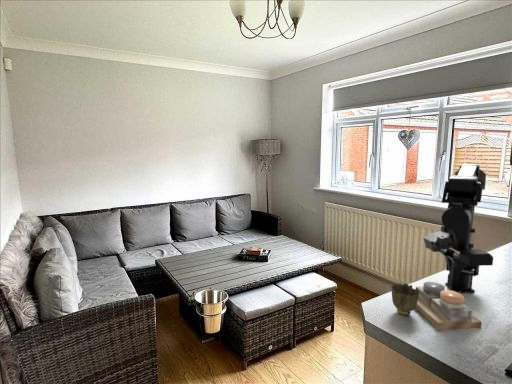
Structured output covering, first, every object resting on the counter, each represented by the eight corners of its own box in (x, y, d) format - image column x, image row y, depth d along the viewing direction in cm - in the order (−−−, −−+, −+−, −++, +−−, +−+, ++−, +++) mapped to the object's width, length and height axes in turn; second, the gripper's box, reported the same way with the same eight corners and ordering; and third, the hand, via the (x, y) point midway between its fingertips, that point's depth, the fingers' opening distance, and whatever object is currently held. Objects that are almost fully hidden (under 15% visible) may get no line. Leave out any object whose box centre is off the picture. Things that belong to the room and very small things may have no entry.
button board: (442, 299, 99) (444, 285, 98) (480, 328, 83) (482, 311, 82) (406, 300, 98) (407, 285, 98) (437, 330, 82) (439, 312, 82)
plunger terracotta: (453, 304, 89) (454, 289, 88) (467, 314, 83) (469, 299, 83) (434, 304, 89) (436, 290, 88) (447, 315, 83) (449, 299, 83)
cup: (384, 309, 93) (385, 284, 92) (402, 305, 95) (404, 281, 94) (403, 322, 86) (405, 296, 85) (423, 317, 88) (425, 291, 87)
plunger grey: (436, 294, 97) (437, 281, 96) (447, 303, 92) (449, 289, 91) (418, 295, 97) (419, 281, 96) (429, 303, 91) (430, 290, 91)
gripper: (410, 216, 91) (407, 265, 94) (453, 233, 73) (447, 294, 75) (446, 215, 92) (442, 265, 94) (498, 232, 74) (491, 293, 76)
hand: (453, 278), depth 85 cm, fingers closed
